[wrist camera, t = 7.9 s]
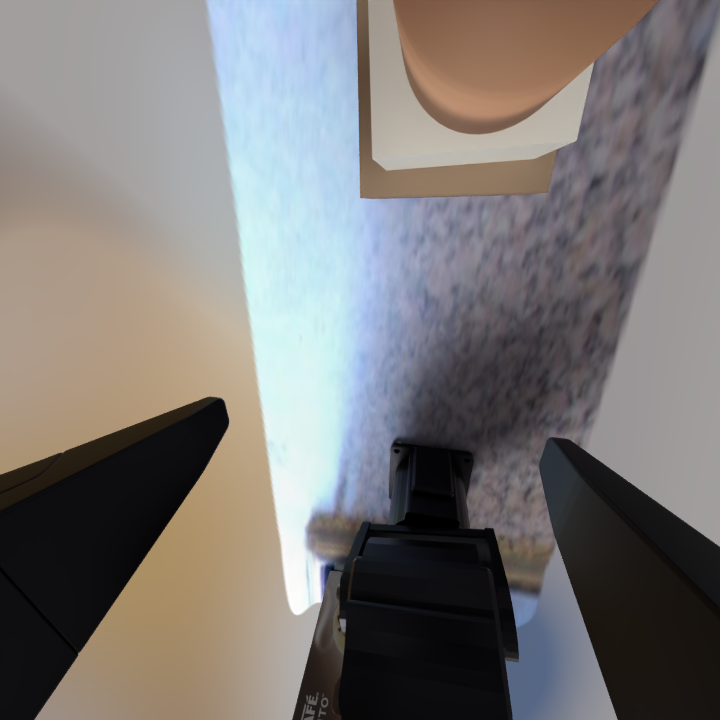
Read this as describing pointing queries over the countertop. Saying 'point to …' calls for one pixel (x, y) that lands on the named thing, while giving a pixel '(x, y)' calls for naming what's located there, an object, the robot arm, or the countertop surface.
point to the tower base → (441, 179)
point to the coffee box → (323, 661)
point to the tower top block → (436, 142)
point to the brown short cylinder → (503, 53)
